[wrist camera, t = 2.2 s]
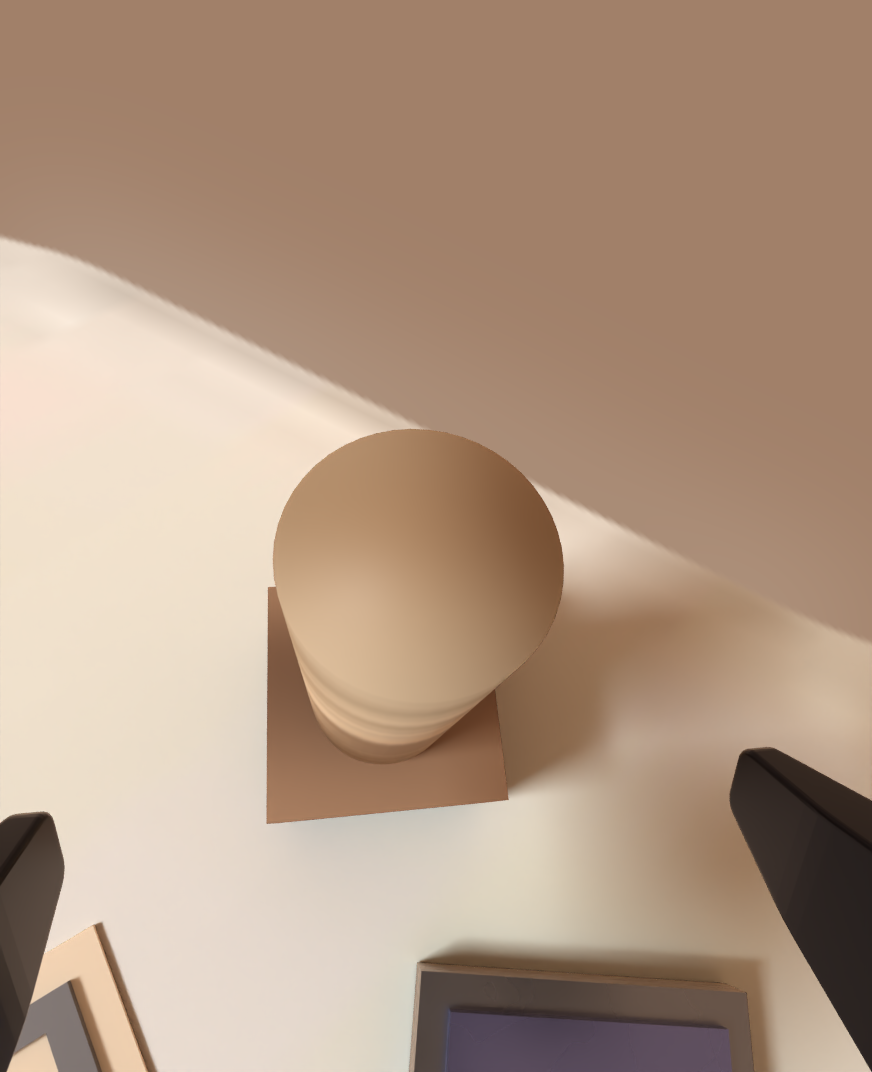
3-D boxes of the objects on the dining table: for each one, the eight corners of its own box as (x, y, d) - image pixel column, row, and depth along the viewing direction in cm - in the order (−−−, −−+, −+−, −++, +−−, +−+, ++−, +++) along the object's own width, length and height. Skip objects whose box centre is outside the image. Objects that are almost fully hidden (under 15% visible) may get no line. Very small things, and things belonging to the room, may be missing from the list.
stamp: (482, 802, 18) (693, 777, 7) (280, 822, 17) (163, 829, 6) (461, 612, 20) (599, 365, 9) (280, 622, 19) (192, 363, 8)
